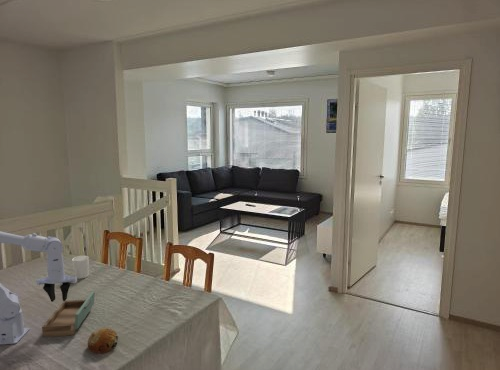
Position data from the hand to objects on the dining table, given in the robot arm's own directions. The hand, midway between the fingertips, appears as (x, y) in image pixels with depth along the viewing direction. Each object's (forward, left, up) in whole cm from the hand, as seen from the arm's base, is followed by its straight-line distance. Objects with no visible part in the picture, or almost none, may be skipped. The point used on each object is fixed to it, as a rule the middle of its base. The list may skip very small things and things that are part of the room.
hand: (59, 300), depth 139 cm
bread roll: (-18, -22, -10) cm, 30 cm away
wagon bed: (0, -3, -9) cm, 10 cm away
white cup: (+45, +8, -10) cm, 47 cm away
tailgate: (0, -9, -7) cm, 12 cm away
